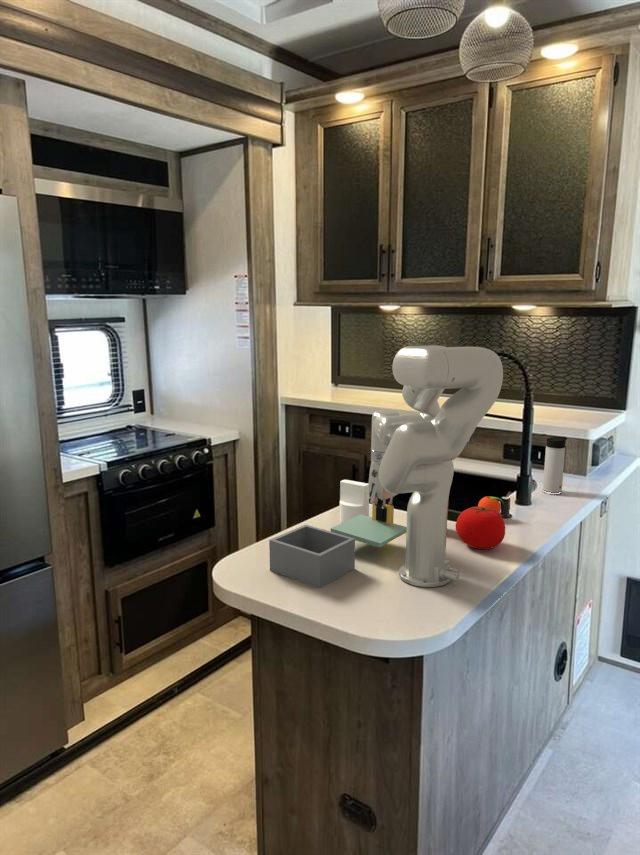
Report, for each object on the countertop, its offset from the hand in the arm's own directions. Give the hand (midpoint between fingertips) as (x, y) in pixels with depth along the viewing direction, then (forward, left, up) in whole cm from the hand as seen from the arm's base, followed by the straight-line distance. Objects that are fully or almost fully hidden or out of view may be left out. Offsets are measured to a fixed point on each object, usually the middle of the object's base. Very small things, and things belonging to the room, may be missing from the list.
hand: (383, 519), depth 172 cm
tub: (+4, +26, -7) cm, 27 cm away
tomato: (-22, -15, -7) cm, 27 cm away
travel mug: (-21, -77, -7) cm, 80 cm away
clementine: (-15, -38, -7) cm, 41 cm away
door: (0, +6, -3) cm, 7 cm away
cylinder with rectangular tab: (+17, -10, -7) cm, 20 cm away
